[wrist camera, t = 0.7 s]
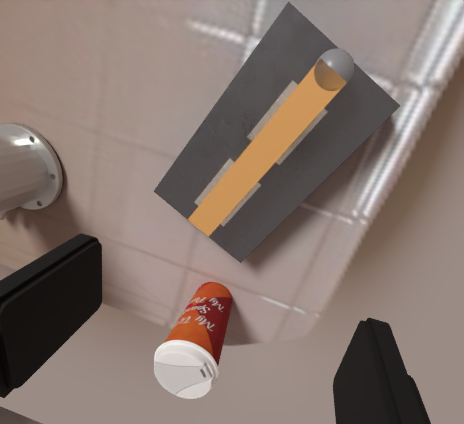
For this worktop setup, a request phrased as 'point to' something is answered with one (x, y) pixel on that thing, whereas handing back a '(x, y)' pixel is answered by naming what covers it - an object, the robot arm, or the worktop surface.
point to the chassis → (252, 122)
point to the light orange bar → (275, 137)
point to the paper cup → (195, 344)
